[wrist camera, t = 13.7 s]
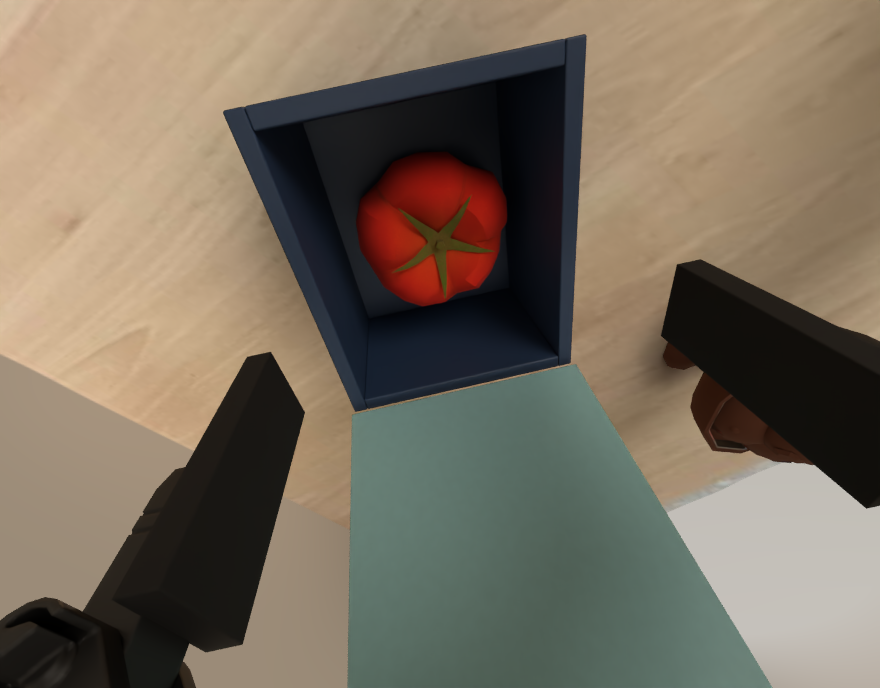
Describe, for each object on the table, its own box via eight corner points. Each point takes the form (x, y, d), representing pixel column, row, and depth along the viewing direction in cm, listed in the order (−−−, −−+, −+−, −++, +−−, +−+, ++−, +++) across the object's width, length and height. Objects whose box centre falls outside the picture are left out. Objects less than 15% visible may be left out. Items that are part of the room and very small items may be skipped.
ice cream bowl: (617, 366, 37) (734, 493, 25) (707, 281, 33) (903, 384, 21) (674, 399, 42) (797, 521, 29) (759, 327, 37) (948, 437, 25)
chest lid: (342, 957, 9) (355, 938, 10) (858, 828, 9) (834, 819, 10) (351, 414, 21) (357, 423, 21) (576, 363, 21) (573, 374, 22)
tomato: (401, 292, 28) (407, 343, 22) (336, 186, 24) (320, 214, 17) (508, 238, 27) (545, 276, 21) (462, 113, 22) (493, 115, 16)
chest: (287, 110, 22) (221, 110, 13) (503, 64, 22) (587, 33, 13) (362, 323, 30) (354, 412, 22) (515, 289, 31) (571, 363, 22)
